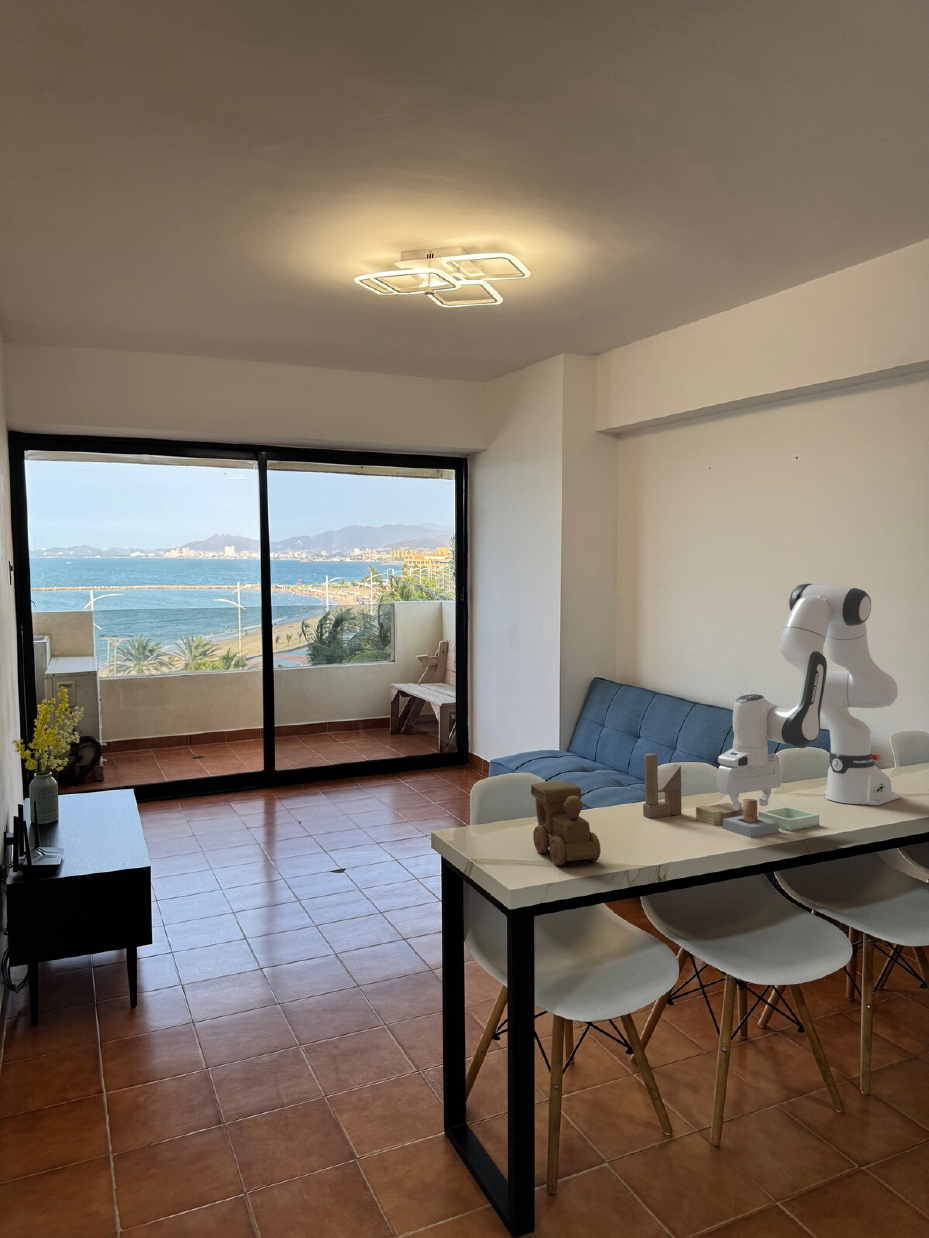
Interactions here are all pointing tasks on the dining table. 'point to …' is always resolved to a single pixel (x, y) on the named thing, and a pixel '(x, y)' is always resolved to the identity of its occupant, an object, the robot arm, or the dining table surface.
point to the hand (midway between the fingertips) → (750, 807)
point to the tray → (791, 818)
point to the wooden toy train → (562, 823)
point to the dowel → (750, 811)
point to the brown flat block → (727, 810)
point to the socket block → (751, 826)
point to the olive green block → (709, 815)
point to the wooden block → (661, 789)
